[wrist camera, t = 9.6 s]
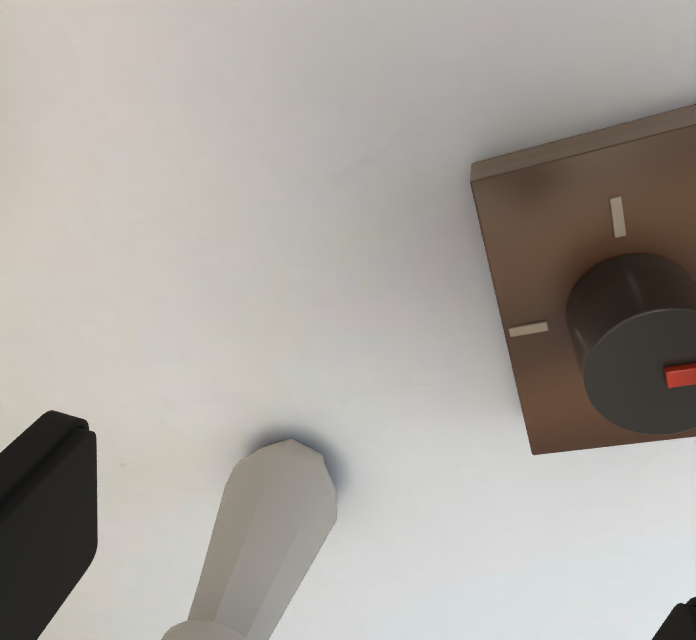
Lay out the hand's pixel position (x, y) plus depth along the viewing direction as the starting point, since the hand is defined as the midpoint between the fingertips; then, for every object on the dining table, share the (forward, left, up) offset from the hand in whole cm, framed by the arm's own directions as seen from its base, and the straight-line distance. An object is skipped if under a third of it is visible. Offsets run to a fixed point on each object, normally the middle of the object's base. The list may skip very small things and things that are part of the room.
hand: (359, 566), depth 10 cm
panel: (0, +8, -18) cm, 19 cm away
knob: (0, +8, -15) cm, 16 cm away
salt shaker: (+15, -3, -18) cm, 24 cm away
